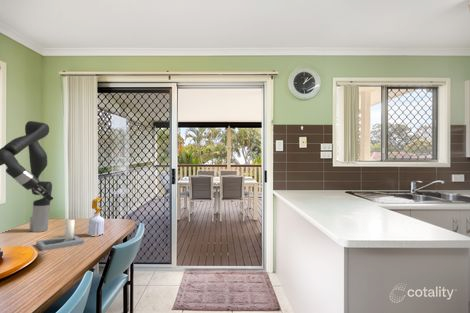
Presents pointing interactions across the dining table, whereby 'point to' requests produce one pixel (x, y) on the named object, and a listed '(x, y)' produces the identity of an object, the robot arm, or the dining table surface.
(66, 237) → the cream rounded cylinder
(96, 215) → the soap bottle
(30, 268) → the dining table surface
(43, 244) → the rectangular recess board
